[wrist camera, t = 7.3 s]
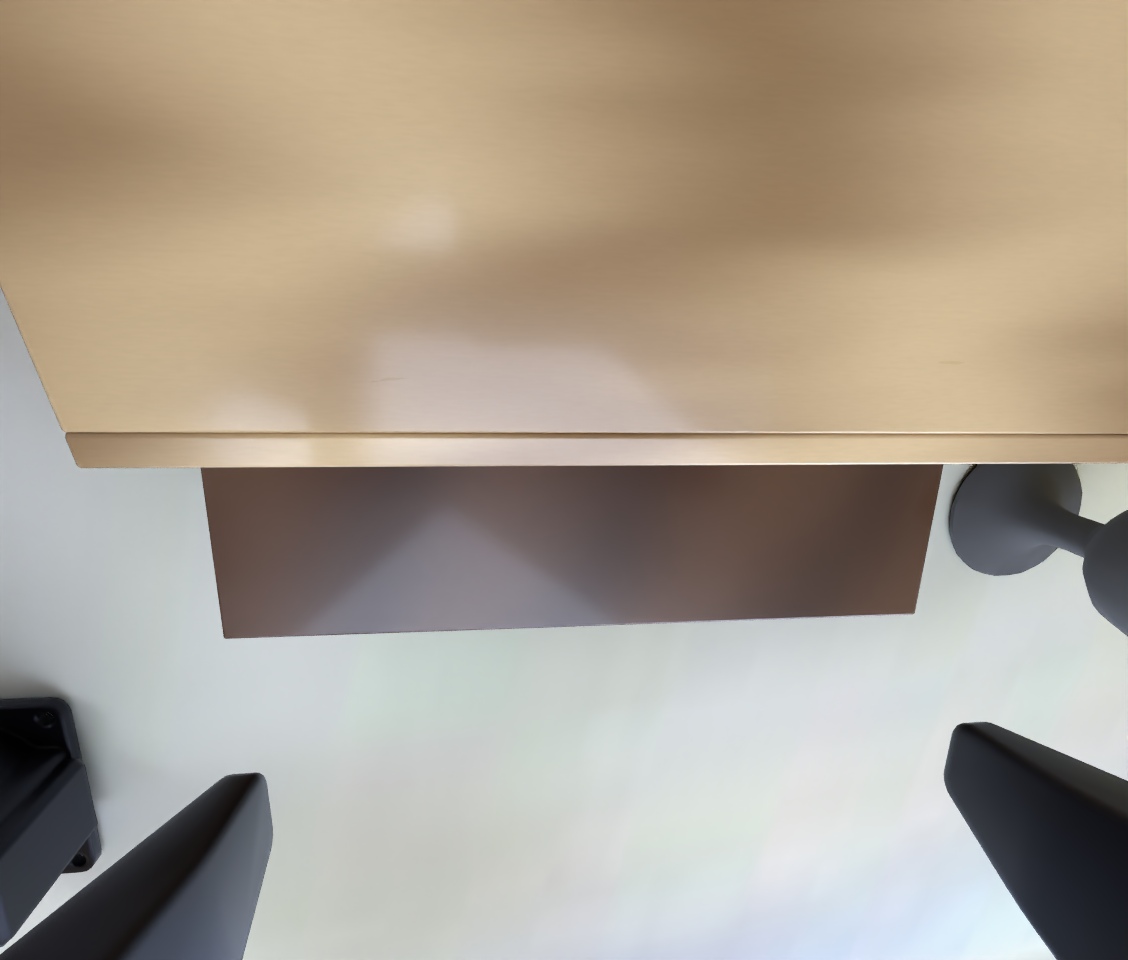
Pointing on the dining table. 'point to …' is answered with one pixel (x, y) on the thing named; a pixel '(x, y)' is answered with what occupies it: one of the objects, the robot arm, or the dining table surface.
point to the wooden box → (570, 230)
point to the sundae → (1040, 529)
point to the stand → (562, 545)
